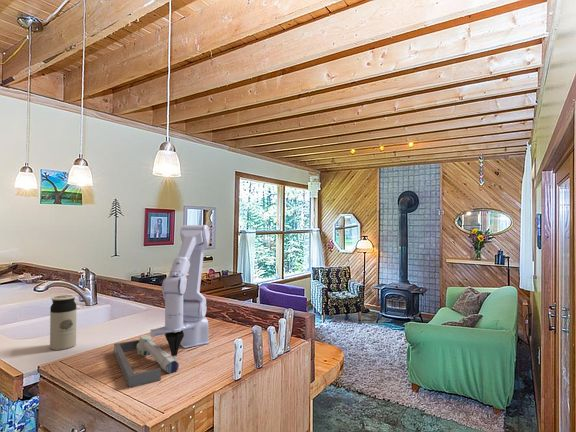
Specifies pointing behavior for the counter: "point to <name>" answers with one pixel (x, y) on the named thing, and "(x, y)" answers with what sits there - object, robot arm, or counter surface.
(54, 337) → the travel mug
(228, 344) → the counter surface
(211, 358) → the counter surface
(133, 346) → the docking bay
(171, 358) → the white handheld device
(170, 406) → the counter surface
